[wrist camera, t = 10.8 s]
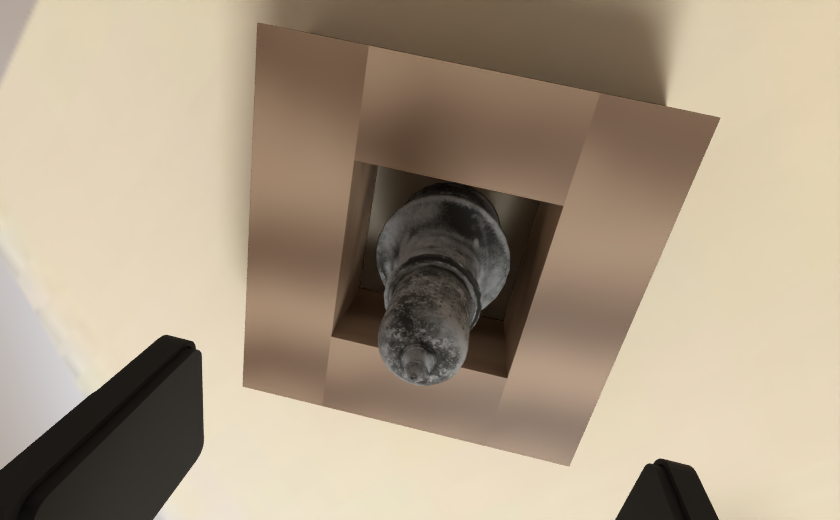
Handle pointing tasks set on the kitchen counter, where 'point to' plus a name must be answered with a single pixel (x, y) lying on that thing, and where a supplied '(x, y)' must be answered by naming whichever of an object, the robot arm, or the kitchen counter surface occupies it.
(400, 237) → the dark stone chess piece
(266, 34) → the well block
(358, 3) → the kitchen counter surface
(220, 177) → the kitchen counter surface
